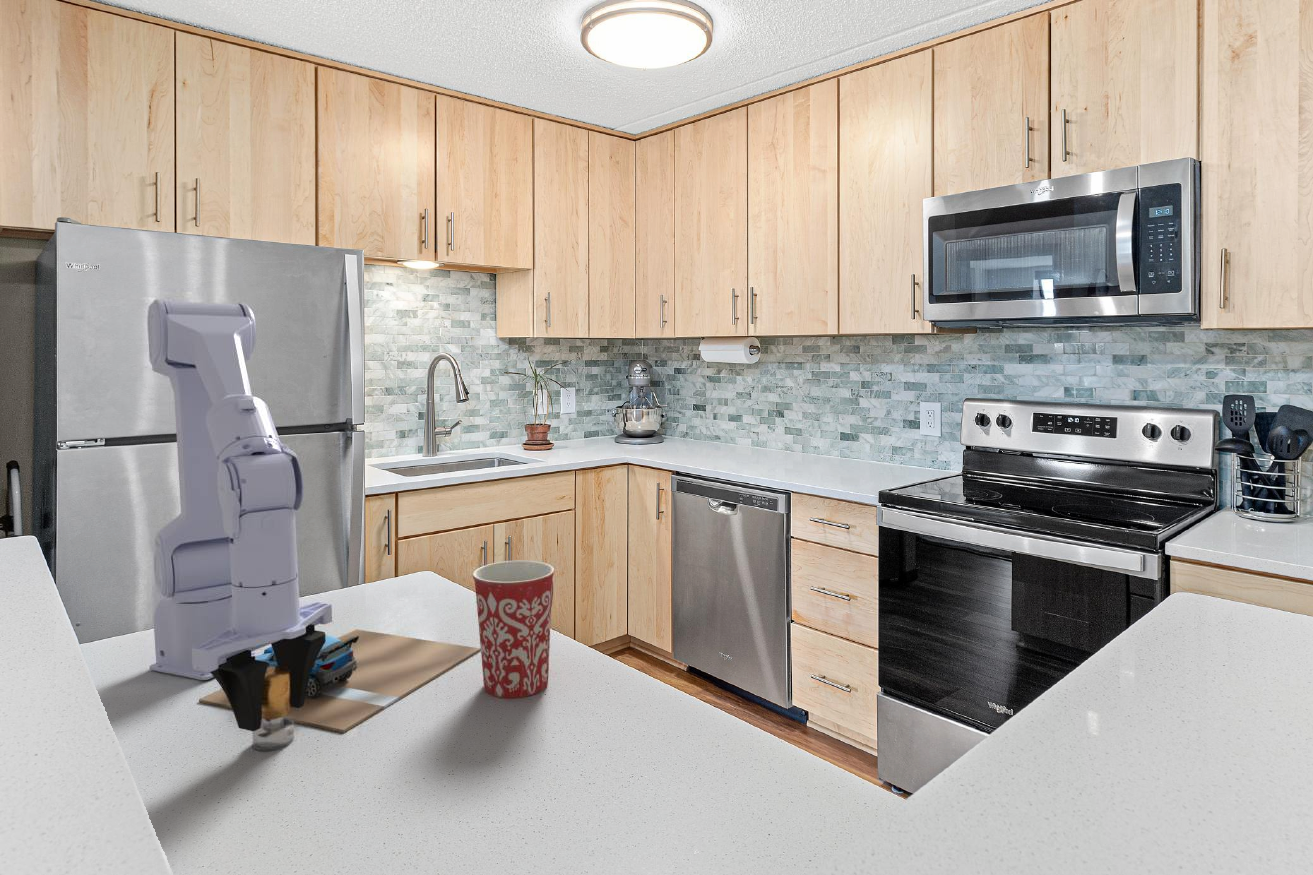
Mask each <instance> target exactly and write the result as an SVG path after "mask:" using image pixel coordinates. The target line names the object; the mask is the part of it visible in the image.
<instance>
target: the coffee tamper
mask: <svg viewBox="0 0 1313 875" xmlns="http://www.w3.org/2000/svg"><path fill="white" fill-rule="evenodd" d="M289 712H290V669H289V668H287V667H282V666H274V667H268V668H267V671H266V674H265V678H264V683H263V689H262V721H261V727H260V729H258V730H256V731H252V746H253V748H254V749H255V750H258V751H261V752H271V751H277V750H281V749H283V748H286V747H288V746H289V745H291V744H292V743H293V742H294V738H295V731H294V730H295V722H293V721H292V720H290V719H286V718H284V716H285V715H287V714H288V713H289Z"/></svg>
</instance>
